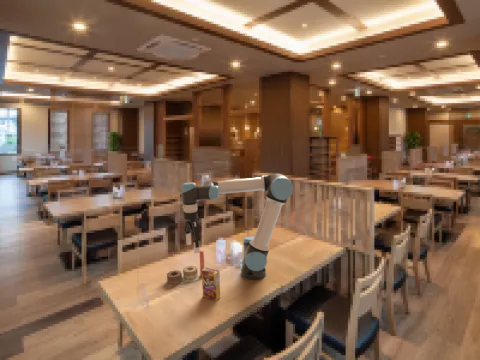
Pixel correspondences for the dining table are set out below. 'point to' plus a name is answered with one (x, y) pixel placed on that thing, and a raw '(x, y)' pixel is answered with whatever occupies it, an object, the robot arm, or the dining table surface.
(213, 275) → the candy box
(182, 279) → the felt mat
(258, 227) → the robot arm
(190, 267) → the beech bead
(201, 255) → the needle
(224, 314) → the dining table surface
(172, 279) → the walnut bead
